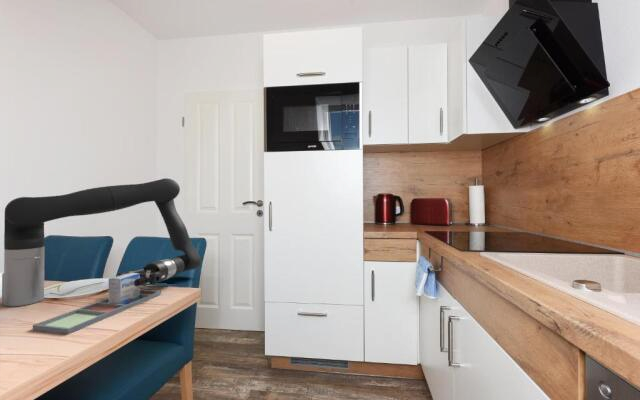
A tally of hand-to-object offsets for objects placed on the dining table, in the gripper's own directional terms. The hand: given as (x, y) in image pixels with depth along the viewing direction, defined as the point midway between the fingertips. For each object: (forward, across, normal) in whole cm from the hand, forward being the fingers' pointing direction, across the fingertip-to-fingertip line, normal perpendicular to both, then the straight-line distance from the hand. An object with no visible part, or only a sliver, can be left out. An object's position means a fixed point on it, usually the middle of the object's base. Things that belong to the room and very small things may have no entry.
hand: (124, 282), depth 98 cm
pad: (+16, 0, +6) cm, 18 cm away
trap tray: (+6, 0, +6) cm, 9 cm away
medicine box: (0, 0, +7) cm, 7 cm away
